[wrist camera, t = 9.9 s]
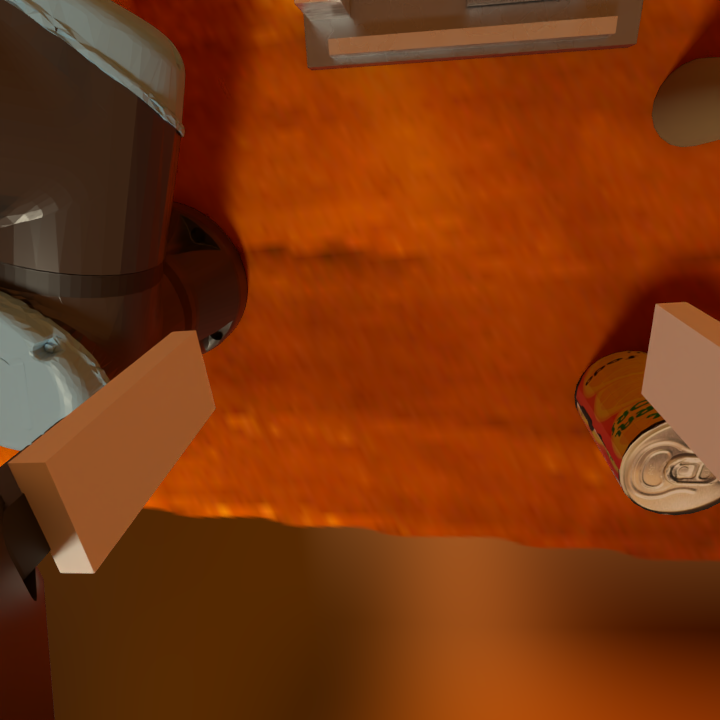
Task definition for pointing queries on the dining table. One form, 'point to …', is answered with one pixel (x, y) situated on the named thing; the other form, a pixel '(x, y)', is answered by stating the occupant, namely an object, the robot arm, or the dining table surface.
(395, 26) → the tray
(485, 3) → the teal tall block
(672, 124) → the olive brown waisted cylinder
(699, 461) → the beverage can
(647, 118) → the dining table surface
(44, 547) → the robot arm
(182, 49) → the dining table surface
